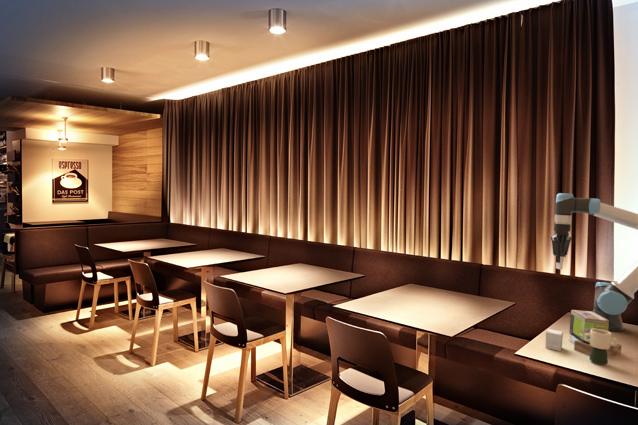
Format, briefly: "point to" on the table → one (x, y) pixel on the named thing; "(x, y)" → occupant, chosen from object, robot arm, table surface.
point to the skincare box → (554, 339)
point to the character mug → (599, 345)
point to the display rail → (587, 348)
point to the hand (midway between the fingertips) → (559, 268)
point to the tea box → (585, 324)
